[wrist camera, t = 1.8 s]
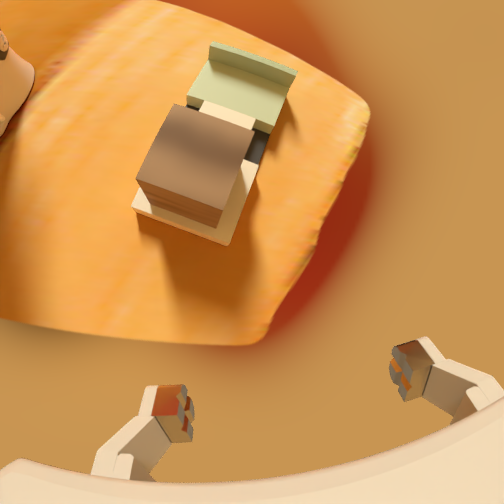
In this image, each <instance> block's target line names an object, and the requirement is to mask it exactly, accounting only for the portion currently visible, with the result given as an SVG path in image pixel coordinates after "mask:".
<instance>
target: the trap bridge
mask: <svg viewBox="0 0 504 504" xmlns="http://www.w3.org/2000/svg"><path fill="white" fill-rule="evenodd" d="M297 72H298V71H296V70H294V69H291V68H289V67H286V66H284V65H281V64H279V63H276V62H274V61H271V60H268V59H266V58H263V57H260V56H258V55H255V54H252V53H249V52H246V51H243V50H240V49H237V48H234V47H231V46H227V45H224V44H221V43H217V42H214V41H213V42H212V43H211V45H210V49H209V58H208V61H207V62H206V64H205V65H204V67H203V68H202V70H201V72H200V73H199V75H198V77H197V78H196V80H195V82H194V83H193V85H192V87H191V88H190V90H189V92H188V93H187V105H186V107H187V108H190V109H193V110H196V111H199V112H202V113H205V114H208V115H211V116H214V117H217V118H220V119H222V120H225V121H228V122H231V123H233V124H236V125H239V126H241V127H244V128H247V129H249V130H252V131H254V132H255V133H254V135H253V138H252V140H251V142H250V145H249V147H248V150H247V152H246V154H245V157H244V159H243V162H242V164H241V167H240V169H239V172H238V174H237V177H236V179H235V182H234V184H233V187H232V189H231V192H230V194H229V197H228V199H227V202H226V205H225V207H224V210H223V212H222V215H221V217H220V220H219V222H218V225H217V228H216V229H215V228H213V227H210V226H207V225H205V224H202V223H199V222H197V221H194V220H191V219H189V218H186V217H183V216H181V215H178V214H175V213H173V212H170V211H167V210H165V209H162V208H159V207H156V206H154V205H151V204H150V203H149V201H148V200H147V198H146V196H145V194H144V193H143V191H142V189H141V187H139V189H138V192H137V194H136V196H135V198H134V201H133V203H132V205H131V207H132V208H133V209H134V211H135V212H137V213H139V214H142V215H145V216H147V217H150V218H152V219H155V220H158V221H160V222H163V223H166V224H168V225H171V226H174V227H176V228H179V229H182V230H184V231H187V232H190V233H192V234H195V235H198V236H200V237H203V238H206V239H208V240H211V241H214V242H216V243H219V244H222V245H224V246H228V245H229V244H230V242H231V239H232V236H233V233H234V231H235V228H236V225H237V223H238V220H239V217H240V215H241V212H242V209H243V206H244V204H245V201H246V198H247V196H248V193H249V191H250V188H251V185H252V183H253V180H254V177H255V175H256V172H257V169H258V167H259V165H258V164H259V161H260V159H261V156H262V153H263V151H264V148H265V146H266V143H267V141H268V138H269V135H270V133H271V131H272V130H273V128H274V126H275V123H276V121H277V118H278V116H279V113H280V110H281V108H282V105H283V103H284V100H285V98H286V95H287V93H288V91H289V88H290V86H291V84H292V82H293V81H294V79H295V77H296V74H297Z"/></svg>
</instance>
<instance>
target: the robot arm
mask: <svg viewBox="0 0 504 504" xmlns="http://www.w3.org/2000/svg"><path fill="white" fill-rule="evenodd" d="M33 81H34V68H33V66H32V65H31V64H30V63H28V62H26V61H25V60H23V59H22V58H21V57H20V56H18V55H17V54H16V53H15V52H14V51H13V50H12V49H11V48H10V46H9V43H8V41H7V39H6V37H5V35H4V33H3V32H2V31H1V29H0V136H1V135H2V134H3V132H4V131H5V129H6V127H7V124H8V122H9V120H10V119H11V117H12V116H13V115H14V114H15V112H16V111H17V110H18V109H19V108H20V106H21V105H22V104H23V102H24V101H25V99H26V97H27V96H28V94H29V92H30V90H31V87H32V85H33ZM392 355H393V357H394V358H393V359H392V360H391V361H390V366H389V370H390V376H391V379H392V381H393V383H395V384H396V385H398V386H399V389H398V392H399V394H400V395H401V397H402V399H403V401H404V402H406V401H409V400H413V399H415V398H418V397H421V396H422V397H423V398H424V399H426V400H428V401H429V402H431V403H432V404H434V405H436V406H437V407H439V408H440V409H442V410H444V411H445V412H447V413H449V414H450V415H452V416H453V419H452V421H451V423H450V425H449V426H447V427H445V428H443V429H441V430H439V431H437V432H434V433H432V434H429V435H427V436H425V437H422V438H420V439H417V440H415V441H412V442H409V443H407V444H404V445H401V446H399V447H396V448H393V449H390V450H387V451H385V452H382V453H378V454H375V455H372V456H369V457H365V458H362V459H359V460H355V461H351V462H347V463H343V464H340V465H336V466H331V467H327V468H322V469H319V470H313V471H308V472H303V473H298V474H292V475H285V476H279V477H272V478H264V479H255V480H245V481H232V482H213V483H168V482H156V481H155V480H154V479H153V478H152V477H151V476H150V475H149V473H150V472H151V470H152V469H153V468H154V466H155V465H156V464H157V463H158V461H159V460H160V459H161V457H162V456H163V455H164V454H165V452H166V451H167V450H168V448H169V447H170V446H171V443H182V442H192V438H193V427H192V425H191V423H192V421H193V420H194V406H193V402H192V400H191V398H190V397H189V396H187V388H186V386H185V385H183V384H180V385H158V386H147V387H146V389H145V391H144V395H143V399H142V403H141V406H140V410H139V414H138V416H136V417H134V418H132V419H131V420H130V421H129V422H128V423H127V424H126V425H125V426H124V427H123V428H122V429H121V430H119V431H118V432H117V433H116V434H115V435H114V436H113V437H112V438H110V439H109V441H107V442H106V443H105V444H104V445H103V446H102V447H100V448H99V449H98V451H97V454H96V457H95V460H94V464H93V467H92V471H91V474H86V473H81V472H75V471H71V470H66V469H62V468H58V467H53V466H49V465H46V464H42V463H39V462H35V461H32V460H29V459H25V458H19V459H16V460H14V461H13V462H11V463H10V464H8V465H7V466H5V467H4V468H2V469H1V470H0V504H504V390H503V389H502V388H501V386H500V385H499V384H498V383H497V381H496V380H495V379H494V378H493V376H491V375H488V374H486V373H483V372H481V371H478V370H476V369H473V368H471V367H468V366H465V365H463V364H460V363H458V362H455V361H453V360H450V359H447V360H446V359H445V358H444V357H443V355H442V354H441V353H440V352H439V350H438V349H437V348H436V347H435V345H434V344H433V343H432V342H431V340H430V339H429V338H428V337H426V336H425V337H422V338H419V339H416V340H413V341H410V342H407V343H403V344H400V345H397V346H394V347H393V349H392Z"/></svg>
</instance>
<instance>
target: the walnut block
mask: <svg viewBox="0 0 504 504" xmlns="http://www.w3.org/2000/svg"><path fill="white" fill-rule="evenodd" d="M254 133H255V132H254V131H252V130H249V129H247V128H244V127H241V126H239V125H236V124H233V123H231V122H228V121H225V120H222V119H220V118H217V117H214V116H211V115H208V114H205V113H202V112H199V111H196V110H193V109H190V108H187V107H184V106H180V105H177V104H174V105H173V107H172V108H171V110H170V112H169V114H168V115H167V117H166V119H165V121H164V123H163V125H162V126H161V128H160V130H159V132H158V134H157V136H156V138H155V140H154V142H153V144H152V146H151V148H150V150H149V152H148V154H147V156H146V158H145V160H144V162H143V164H142V166H141V168H140V170H139V172H138V174H137V177H136V180H137V182H138V184H139V185H140V187H141V189H142V191H143V193H144V194H145V196H146V198H147V200H148V201H149V203H150V204H151V205H154V206H156V207H159V208H162V209H165V210H167V211H170V212H173V213H175V214H178V215H181V216H183V217H186V218H189V219H191V220H194V221H197V222H199V223H202V224H205V225H207V226H210V227H213V228H215V229H216V228H217V225H218V222H219V220H220V217H221V215H222V212H223V210H224V207H225V205H226V202H227V199H228V197H229V194H230V192H231V189H232V187H233V184H234V182H235V179H236V177H237V174H238V172H239V169H240V167H241V164H242V162H243V159H244V157H245V154H246V152H247V150H248V147H249V145H250V142H251V140H252V138H253V135H254Z"/></svg>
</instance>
